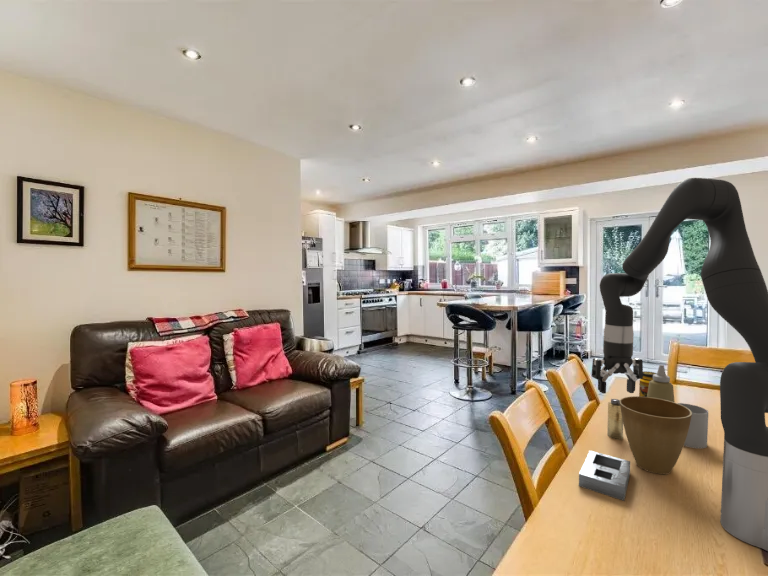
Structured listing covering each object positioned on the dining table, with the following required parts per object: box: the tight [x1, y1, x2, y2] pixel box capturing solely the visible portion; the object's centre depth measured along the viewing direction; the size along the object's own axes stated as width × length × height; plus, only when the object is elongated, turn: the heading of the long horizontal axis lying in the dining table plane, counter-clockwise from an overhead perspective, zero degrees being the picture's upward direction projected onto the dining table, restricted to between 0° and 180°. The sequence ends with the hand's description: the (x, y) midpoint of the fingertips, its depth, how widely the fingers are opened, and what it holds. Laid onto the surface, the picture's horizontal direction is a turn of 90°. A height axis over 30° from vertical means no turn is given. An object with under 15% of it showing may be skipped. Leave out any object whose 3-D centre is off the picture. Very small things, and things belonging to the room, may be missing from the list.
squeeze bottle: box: [647, 364, 676, 403], centre depth 126 cm, size 8×8×18 cm
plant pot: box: [619, 395, 692, 475], centre depth 94 cm, size 15×15×16 cm
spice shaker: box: [606, 398, 624, 441], centre depth 112 cm, size 4×4×11 cm
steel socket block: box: [578, 450, 631, 501], centre depth 89 cm, size 14×9×3 cm, turn 142°
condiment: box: [638, 370, 657, 397], centre depth 138 cm, size 7×8×12 cm
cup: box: [677, 402, 709, 449], centre depth 108 cm, size 8×8×10 cm
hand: (616, 392), depth 111 cm, fingers open, 8 cm apart
